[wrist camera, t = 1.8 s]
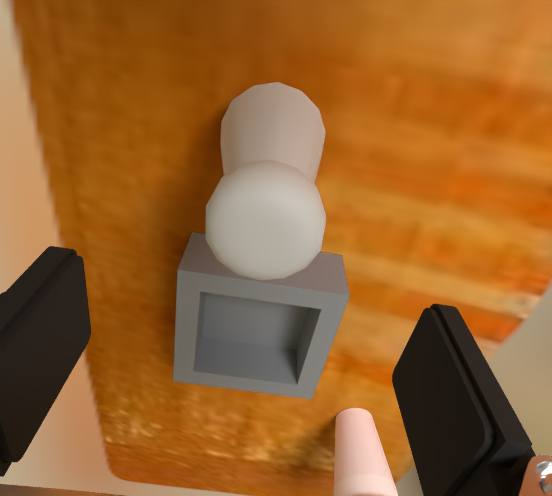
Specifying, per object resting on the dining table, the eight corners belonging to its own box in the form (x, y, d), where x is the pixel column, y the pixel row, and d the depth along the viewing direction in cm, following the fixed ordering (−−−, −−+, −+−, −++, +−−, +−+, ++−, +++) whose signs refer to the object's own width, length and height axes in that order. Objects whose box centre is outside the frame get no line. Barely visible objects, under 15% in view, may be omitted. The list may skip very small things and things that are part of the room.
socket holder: (192, 231, 28) (177, 269, 24) (341, 255, 29) (349, 295, 25) (185, 337, 34) (173, 381, 30) (309, 355, 35) (311, 399, 31)
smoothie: (358, 442, 43) (385, 614, 31) (309, 423, 41) (318, 598, 29) (398, 413, 40) (445, 592, 28) (347, 391, 38) (374, 572, 26)
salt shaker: (215, 153, 25) (160, 283, 14) (240, 59, 22) (193, 131, 11) (302, 181, 26) (313, 323, 15) (337, 94, 23) (382, 194, 12)
